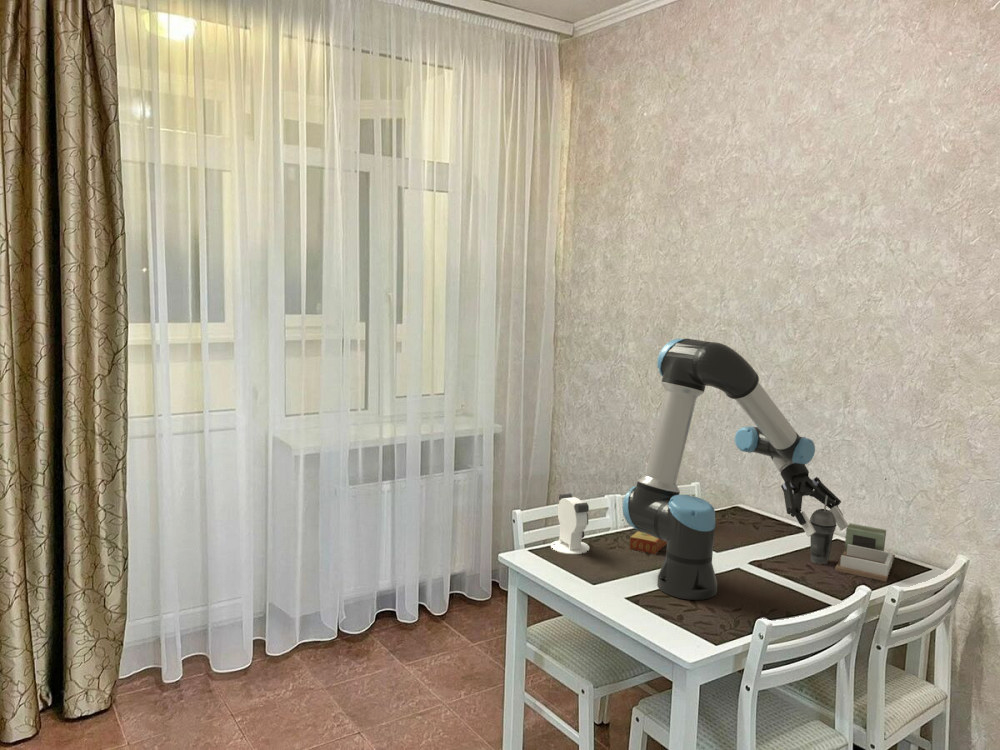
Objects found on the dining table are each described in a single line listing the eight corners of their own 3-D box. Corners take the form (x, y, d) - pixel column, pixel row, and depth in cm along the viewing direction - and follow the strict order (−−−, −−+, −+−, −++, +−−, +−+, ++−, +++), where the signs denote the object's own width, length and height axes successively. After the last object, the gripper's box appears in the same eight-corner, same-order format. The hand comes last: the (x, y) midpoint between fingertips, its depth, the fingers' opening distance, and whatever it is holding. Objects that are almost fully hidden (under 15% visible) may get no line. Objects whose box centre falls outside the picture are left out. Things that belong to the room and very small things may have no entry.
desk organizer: (886, 581, 212) (889, 553, 210) (835, 570, 218) (837, 543, 217) (894, 558, 230) (897, 532, 229) (847, 548, 236) (849, 523, 235)
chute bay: (887, 576, 213) (888, 565, 212) (840, 566, 219) (841, 556, 219) (892, 563, 223) (893, 553, 222) (846, 553, 229) (847, 543, 229)
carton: (628, 550, 230) (629, 536, 230) (646, 534, 244) (646, 521, 243) (656, 555, 226) (656, 541, 226) (672, 539, 240) (672, 526, 240)
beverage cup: (828, 557, 228) (834, 491, 225) (836, 567, 221) (843, 499, 218) (802, 556, 229) (808, 490, 226) (809, 565, 222) (816, 497, 219)
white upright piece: (597, 552, 226) (600, 502, 224) (563, 557, 222) (566, 506, 220) (576, 538, 237) (579, 491, 235) (544, 543, 232) (546, 494, 230)
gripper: (812, 469, 241) (849, 531, 230) (753, 477, 230) (789, 543, 219) (828, 456, 236) (866, 519, 225) (768, 464, 224) (806, 530, 213)
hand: (828, 531), depth 222 cm, fingers open, 13 cm apart
